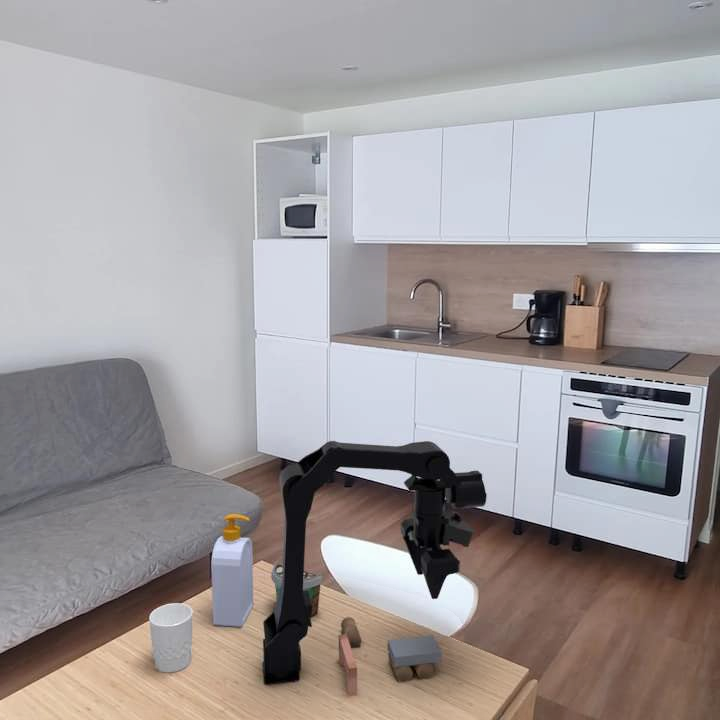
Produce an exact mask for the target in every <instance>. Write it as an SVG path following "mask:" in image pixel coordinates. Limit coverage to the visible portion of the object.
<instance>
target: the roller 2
mask: <svg viewBox="0 0 720 720" xmlns="http://www.w3.org/2000/svg"><path fill="white" fill-rule="evenodd" d="M387 655H388V659H389V662H390V664H391V667H392V669H393V672H394V674H395V676H396V679H397V680H398V681H399V682H400V683H403V682H404V683H405V682H409V681H411V679H412V677H413V671H412V669H411V665H410V666H401V667H394V664H393V662H392V659H391V657H390V654H389V652H388V654H387Z"/></svg>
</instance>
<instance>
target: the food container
mask: <svg viewBox="0 0 720 720" xmlns="http://www.w3.org/2000/svg"><path fill="white" fill-rule="evenodd" d="M282 569H283V564H280V563H279V560H276V562H275V563H274V565H273V567H272V569H271V576H270V579H271V580H272V582H273V583H274V586H275V595H276V598H277V596H278V593H279V591H280V588H281V585H282ZM323 577H324V576H323V575H322V572H319V573H317V574H315V573H310V572H307V571H305V570H304V577H303V591H305V590H309V594H310V598H311V602H312V613H311V618H313V617H315V616H317V614H318V612H319V602H320V595H321V594H320V593H321V584H323V582H324V578H323Z"/></svg>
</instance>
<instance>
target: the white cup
mask: <svg viewBox="0 0 720 720" xmlns="http://www.w3.org/2000/svg"><path fill="white" fill-rule="evenodd" d="M193 613H194V612H193V608H191V606H189V605H188V604H185V603H177V602H176V603H175V602H173V603H167V604H164V605H161V606H159V607H157V608H155V609H154V610H152V612H151V613H150V614H149V618H148V619H149V628H150V639H151V648H152V652H153V653H152V654H153V656H154V657H153V658H154V667H155V669H157V670H158V671H160V672H161V673H167V674H168V673H176V672H179V671H181V670H184V669H185V668H186V667H188V666H190V664H191V661H192V647H193V615H194V614H193Z"/></svg>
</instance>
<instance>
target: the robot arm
mask: <svg viewBox="0 0 720 720" xmlns="http://www.w3.org/2000/svg"><path fill="white" fill-rule="evenodd" d="M450 466H451V460H450V458H449V456H448V454H447V453H445V451H444V450H443V449H442V448H441V447H440V446H439V445H438V444H436V443H435V442H433V441H429V440H428V441H427V440H426V441H418V442H410V443H407V444H404V445H396V446H395V445H381V444H379V445H378V444H368V443H367V444H364V443H352V442H351V443H349V442H338V441H336V440H329V441H327V442H325V443H324V444H323V445H322V446H320V447H319V448H317V449H315V450H314V451H312V452H310V453H308V454H307V455H304V456H303V457H302V458H301V459H300V460H298V462H296V463H293V464H290V465H287V466H286V467H284V468H283V470H281V472H280V474H279V479H278V480H279V481H278V482H279V488H280V494H281V499H282V506H283V512H284V520H283V521H284V524H283V548H282V549H283V550H282V566H283V569H282V585H281V588H280V591H279V593H278V596H277V597H276V601H275V606H274V609H273V611H272V612H271V613H270V615H268V616H267V617H266V618H265V619H264V621H262V622H263V623H262V624H263V634H264V638H262V657H263V659H262V660H263V661H262V662H261V663H262V675H263V676H262V677H263V683H264V685H268V686H269V685H275V684H276V685H277V684H283V683H291V682H298V681H300V677H301V676H300V673H299V672H301V671H302V649H301V646H300V642H301V641H302V639H304V638H305V637H307V634H308V632H309V628H312V627H313V624H312V620H311V619H312V617H311V613H312V602H311V598H310V594H309V590H305V591H303V577H304V571H305V550H306V549H305V548H306V534H307V533H306V530H307V520H308V516H309V514H310V512H311V510H312V506H313V502H314V497H315V493H316V492H317V491H318V490H320V489H321V488H322V487H323V486H325V484H326V482H327V481H328V480H329V479H330V478H331V477H332V475H333V474H334V473H335V472H336V471H337V470H338V469H340V468H348V469H349V468H350V469H351V468H352V469H368V470H382V471H383V470H385V471H398V472H404V473H406V474H409V475H411V476H410V477H408V478H407V479H406V480H405V481H403V484H404V486H405V487H406V489H408V491H409V492H413V491H414V507H413V508H414V510H410V516H411V517H412V518H405V519H404V520H403V521H402V522H401V523H400V534H401V535H402V539H403V541H404V543H405V546H406V549H407V551H408V554H409V556H410V558H411V561H412V564H413V566H414V569H415V571H416V574H417V575H418V576H421V575H423V577H424V579H425V583H426V586H427V589H428V592H429V594H430V597H431V599H432V600H437V599H438V598H439V596H440V593H441V591H442V588H443V587H444V586H443V585H444V583H445V581H446V579H447V577H448V576H449V575H453V574H458V573H459V572H460V571H461V570H460V568H461V561H460V560H459V558H458V557H457V555H456V554H455V553H454V552H453V551H452V550H451V549H450V548H445V549H443V548H442V547H441V545H442V546H445V547H446V546H450V542H451V543H454V544H458V545H460V546H463V547H465V548H469V547H470V544H471V542H472V539H473V536H474V533H475V531H474V529H473V528H471V526H470V525H469V524H468V523H466V522H465V521H464V520H462V516H461V515H460V514H459V512H457V511H453V510H451V511H450V512H449V513H448V514H447V515H445V511H446V509H445V508H446V503H447V504H450V505H451V507H452V508H453V509H468V508H479V507H480V508H483V507H484V506H485V505H486V503H487V495H488V494H487V492H486V487H485V484H484V480H483V473H482V472H480V471H479V470H471V471H464V472H454V470H453V469H452V468H451V467H450Z"/></svg>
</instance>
